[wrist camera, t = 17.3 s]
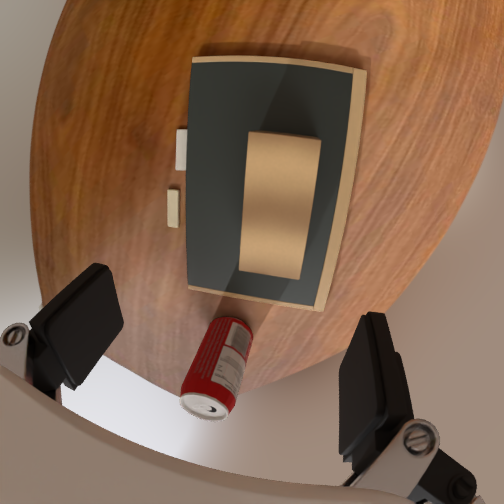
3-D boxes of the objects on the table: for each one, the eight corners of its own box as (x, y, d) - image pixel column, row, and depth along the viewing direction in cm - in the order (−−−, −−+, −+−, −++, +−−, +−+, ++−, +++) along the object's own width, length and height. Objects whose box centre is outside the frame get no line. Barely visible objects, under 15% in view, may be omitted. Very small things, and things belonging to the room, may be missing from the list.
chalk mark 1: (178, 190, 26) (179, 189, 27) (167, 189, 26) (169, 188, 27) (177, 228, 28) (179, 226, 28) (167, 226, 28) (169, 225, 29)
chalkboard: (196, 58, 20) (192, 56, 20) (365, 72, 19) (367, 70, 18) (191, 284, 31) (188, 289, 31) (323, 306, 29) (323, 312, 29)
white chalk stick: (178, 129, 24) (176, 129, 24) (189, 129, 24) (188, 129, 23) (177, 169, 26) (175, 169, 25) (188, 169, 26) (186, 170, 25)
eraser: (258, 129, 22) (248, 131, 18) (318, 137, 21) (321, 140, 17) (248, 247, 27) (238, 270, 23) (301, 255, 26) (299, 280, 22)
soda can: (205, 335, 35) (171, 410, 24) (217, 307, 32) (180, 387, 22) (244, 352, 35) (221, 430, 24) (260, 326, 32) (239, 410, 22)
